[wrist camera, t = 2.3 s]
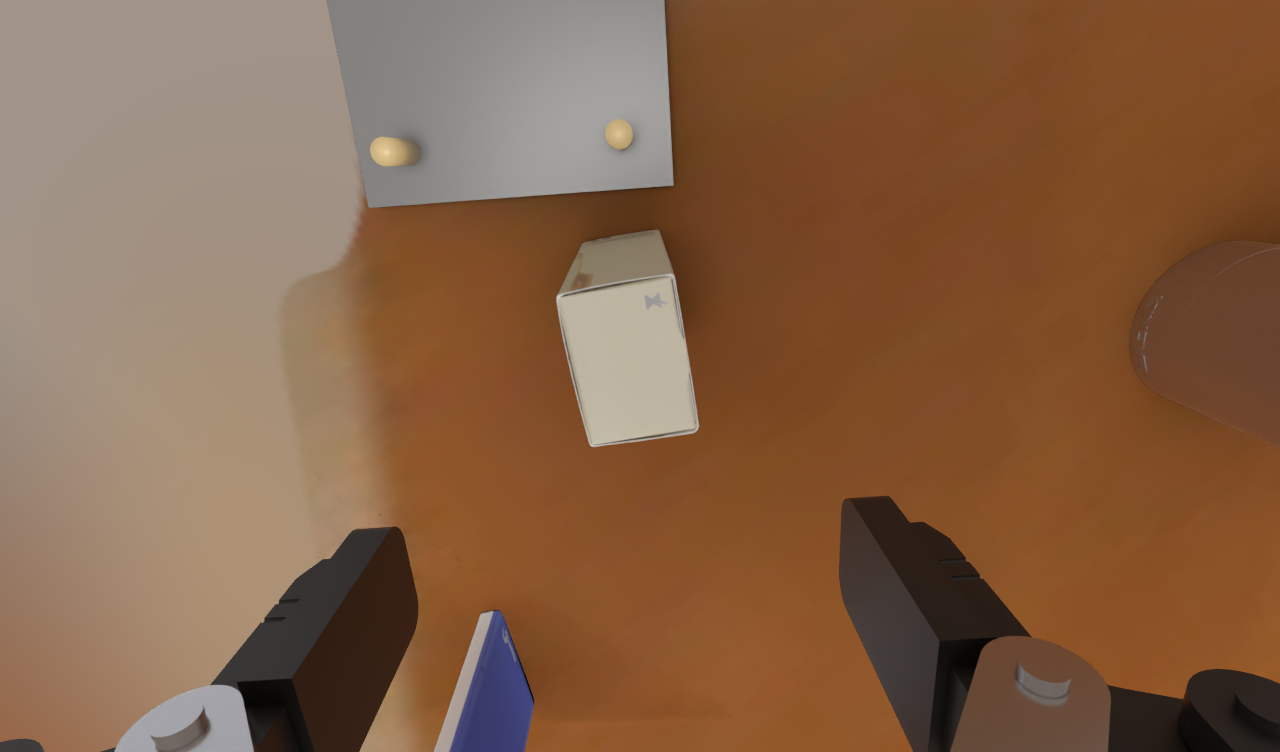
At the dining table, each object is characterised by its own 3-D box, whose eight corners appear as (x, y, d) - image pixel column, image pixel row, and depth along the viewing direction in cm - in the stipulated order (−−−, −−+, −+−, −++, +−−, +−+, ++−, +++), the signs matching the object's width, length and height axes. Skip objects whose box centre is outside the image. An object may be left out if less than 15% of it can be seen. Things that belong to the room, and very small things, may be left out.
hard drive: (501, 608, 40) (446, 790, 29) (536, 703, 43) (499, 907, 31) (478, 612, 41) (413, 796, 29) (514, 707, 43) (469, 911, 31)
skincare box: (579, 241, 33) (548, 284, 21) (661, 226, 33) (675, 262, 21) (602, 356, 35) (586, 453, 23) (680, 343, 35) (701, 434, 23)
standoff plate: (653, -178, 27) (656, -240, 23) (671, 184, 32) (677, 188, 28) (310, -149, 27) (250, -206, 23) (380, 205, 32) (341, 212, 28)
